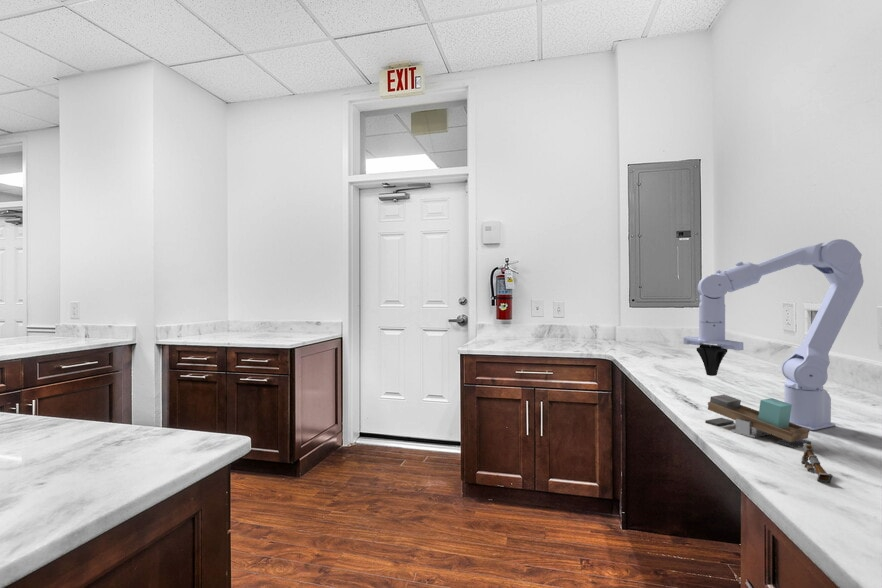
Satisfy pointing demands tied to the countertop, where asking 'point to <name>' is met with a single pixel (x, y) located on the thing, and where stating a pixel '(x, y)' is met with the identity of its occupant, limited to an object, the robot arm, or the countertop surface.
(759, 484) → the countertop surface
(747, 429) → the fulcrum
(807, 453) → the wooden post with brackets
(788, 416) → the block
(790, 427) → the beam
